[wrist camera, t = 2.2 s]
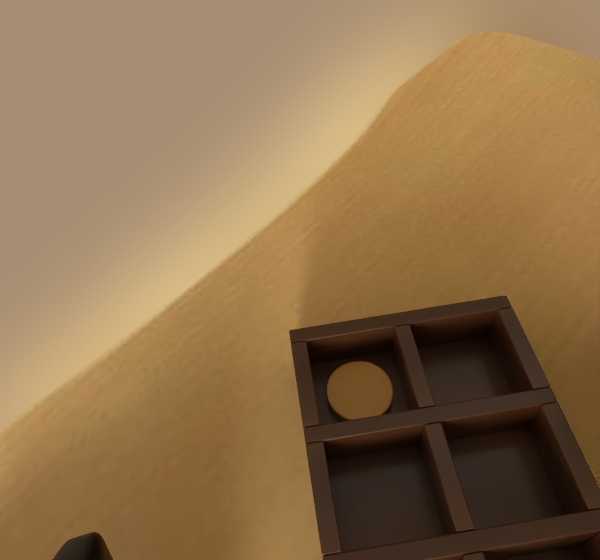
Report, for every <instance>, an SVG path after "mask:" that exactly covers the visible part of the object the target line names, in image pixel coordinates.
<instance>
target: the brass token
mask: <svg viewBox="0 0 600 560" xmlns="http://www.w3.org/2000/svg"><path fill="white" fill-rule="evenodd" d="M326 396H327V402H328V406H329V408H330V410H331V411H332V413H333V414H334V415H335V416H336V417H337V418H338V419H339V420H341V421H347V420H353V419H359V418H366V417H372V416H378V415H384V414H387V413H388V412H389V410H390V408H391V406H392V402H393V385H392V382H391V380H390V378H389V377H388V375H387V374H386V373H385V372H384V371H383V370H382V369H381V368H380V367H378V366H376V365H374V364H372V363H369V362H365V361H354V362H349V363H346V364H344V365H342V366H340V367H339V368H337V369H336V370H335V371H334V372H333V373H332V375H331V376H330V378H329V380H328V382H327V387H326Z"/></svg>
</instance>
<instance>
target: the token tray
mask: <svg viewBox="0 0 600 560" xmlns="http://www.w3.org/2000/svg"><path fill="white" fill-rule="evenodd" d="M289 334H290V340H291V347H292V354H293V361H294V367H295V374H296V381H297V388H298V395H299V401H300V408H301V415H302V422H303V428H304V435H305V442H306V449H307V456H308V463H309V469H310V476H311V483H312V490H313V497H314V503H315V510H316V517H317V524H318V531H319V537H320V544H321V551H322V556H323V560H600V489H599V487H598V485H597V483H596V481H595V479H594V476H593V474H592V472H591V470H590V468H589V466H588V464H587V462H586V460H585V458H584V456H583V454H582V452H581V449H580V447H579V445H578V443H577V441H576V439H575V437H574V435H573V433H572V431H571V429H570V427H569V425H568V422H567V420H566V418H565V416H564V414H563V412H562V410H561V408H560V406H559V404H558V403H557V400H556V398H555V396H554V394H553V392H552V390H551V388H550V385H549V383H548V381H547V379H546V377H545V375H544V372H543V370H542V368H541V366H540V364H539V362H538V360H537V358H536V356H535V354H534V352H533V350H532V348H531V345H530V343H529V341H528V339H527V337H526V335H525V333H524V331H523V329H522V327H521V325H520V323H519V321H518V318H517V316H516V314H515V312H514V310H513V308H511V304H510V302H509V300H508V298H507V296H499V297H493V298H487V299H481V300H474V301H468V302H462V303H456V304H450V305H444V306H437V307H431V308H425V309H419V310H413V311H406V312H400V313H394V314H388V315H382V316H376V317H369V318H363V319H357V320H351V321H345V322H338V323H332V324H326V325H320V326H314V327H308V328H301V329H295V330H290V331H289ZM354 361H365V362H369V363H372V364H374V365H376V366H378V367H380V368H381V369H382V370H383V371H384V372H385V373H386V374H387V375H388V377H389V378H390V380H391V382H392V385H393V402H392V406H391V408H390V410H389V412H388V413H387V414H384V415H378V416H372V417H366V418H359V419H353V420H347V421H341V420H339V419H338V418H337V417H336V416H335V415H334V414H333V413H332V411H331V410H330V408H329V406H328V402H327V396H326V387H327V382H328V380H329V378H330V376H331V375H332V373H333V372H334V371H335V370H336V369H337V368H339V367H340V366H342V365H344V364H346V363H349V362H354Z"/></svg>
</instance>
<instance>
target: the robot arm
mask: <svg viewBox="0 0 600 560" xmlns="http://www.w3.org/2000/svg"><path fill="white" fill-rule="evenodd" d="M52 560H113V558H112V556H111V554H110V552H109V550H108V548H107V546H106V544H105V542H104V540H103V538H102V536H101V535H100V534H99V533H97V532H92V533H88V534H85V535H82V536H78V537H75V538H72V539H70V540H68V541H67V542H66V543H65V544H64V545H63V546H62V547H61V549H60V550H59V551H58V553H57V554H56V555H55V557H54V558H53V559H52Z"/></svg>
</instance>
